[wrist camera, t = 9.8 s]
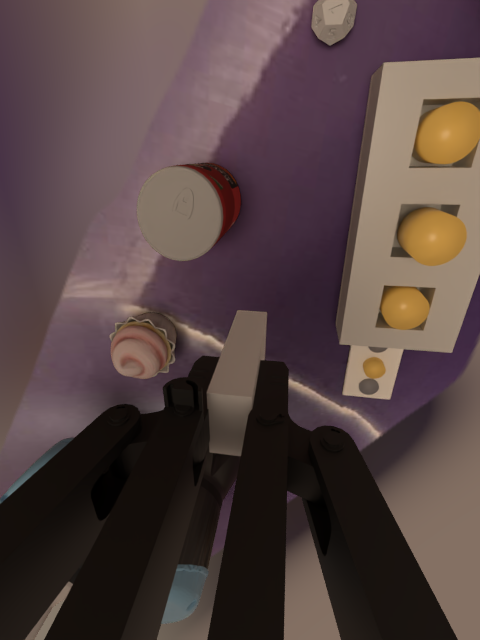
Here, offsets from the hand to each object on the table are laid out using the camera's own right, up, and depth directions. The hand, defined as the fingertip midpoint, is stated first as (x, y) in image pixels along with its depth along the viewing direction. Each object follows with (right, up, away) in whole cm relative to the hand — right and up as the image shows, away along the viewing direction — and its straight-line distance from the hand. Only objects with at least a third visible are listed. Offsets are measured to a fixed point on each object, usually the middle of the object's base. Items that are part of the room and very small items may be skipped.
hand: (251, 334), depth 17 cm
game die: (+8, +27, +12) cm, 31 cm away
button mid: (+17, +9, +14) cm, 24 cm away
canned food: (-4, +15, +21) cm, 26 cm away
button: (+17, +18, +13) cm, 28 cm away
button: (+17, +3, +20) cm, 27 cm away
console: (+18, +11, +18) cm, 28 cm away
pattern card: (+17, -5, +27) cm, 32 cm away
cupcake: (-13, -1, +30) cm, 33 cm away
